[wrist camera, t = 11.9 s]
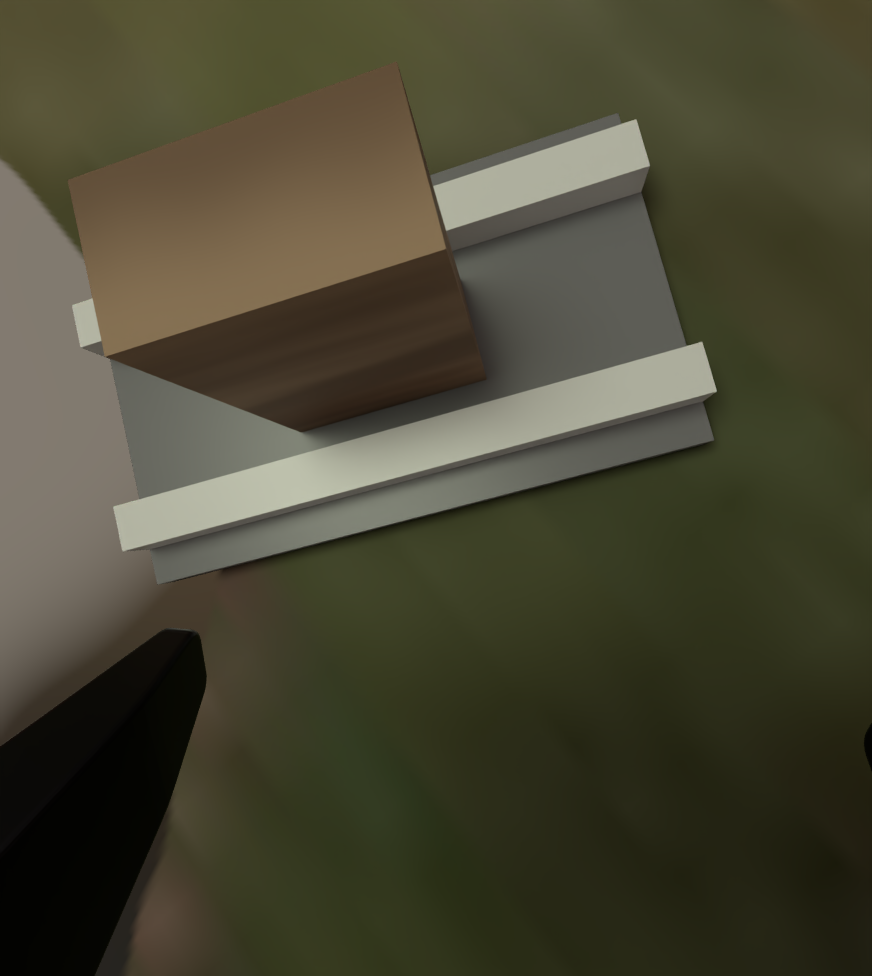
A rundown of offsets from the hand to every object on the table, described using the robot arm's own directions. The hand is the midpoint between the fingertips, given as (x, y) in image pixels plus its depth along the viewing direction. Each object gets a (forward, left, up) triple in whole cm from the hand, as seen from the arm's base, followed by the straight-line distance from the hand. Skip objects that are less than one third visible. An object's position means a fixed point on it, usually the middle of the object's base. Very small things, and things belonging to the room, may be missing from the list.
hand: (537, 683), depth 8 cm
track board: (+5, +8, -13) cm, 16 cm away
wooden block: (+5, +8, -12) cm, 15 cm away
